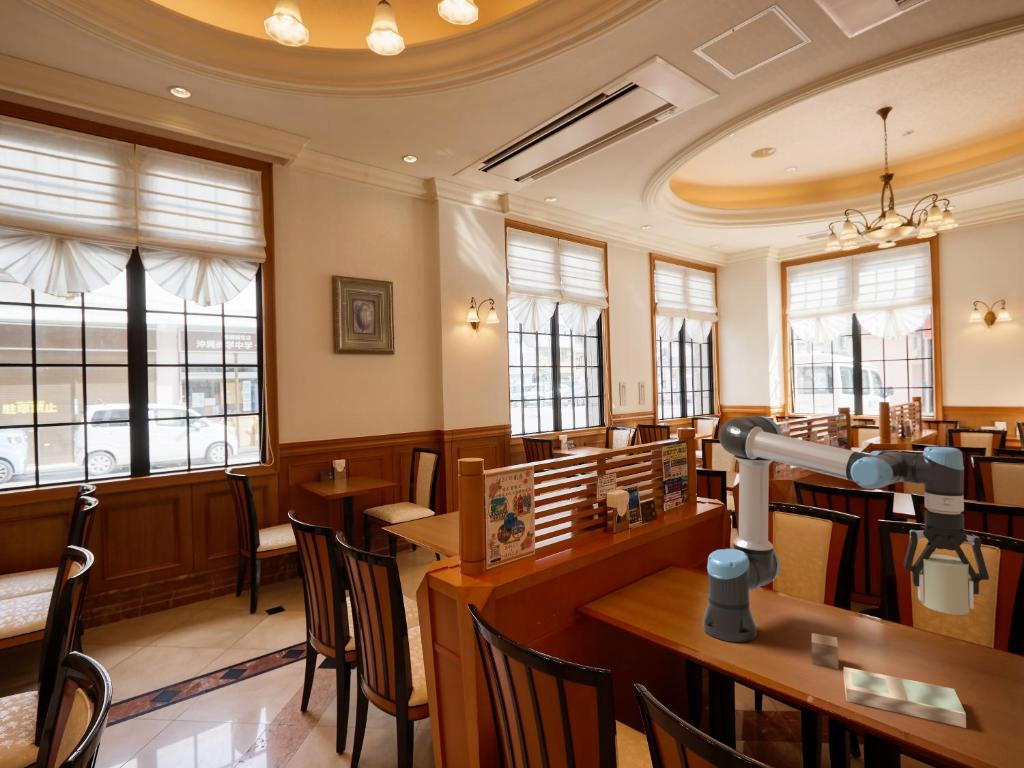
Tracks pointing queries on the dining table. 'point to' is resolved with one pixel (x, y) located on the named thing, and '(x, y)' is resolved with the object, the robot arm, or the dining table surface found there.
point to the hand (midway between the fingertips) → (945, 602)
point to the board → (904, 696)
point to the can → (946, 584)
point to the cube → (824, 651)
